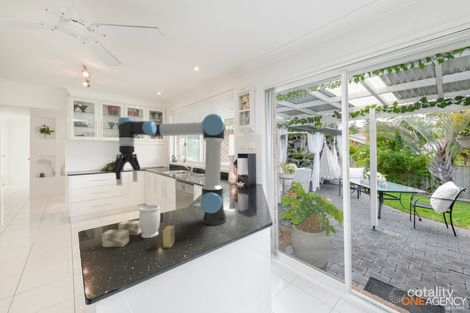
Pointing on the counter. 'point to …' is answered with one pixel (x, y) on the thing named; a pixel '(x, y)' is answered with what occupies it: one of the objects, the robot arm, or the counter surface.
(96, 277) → the counter surface
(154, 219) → the jar
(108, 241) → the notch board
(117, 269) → the counter surface
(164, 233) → the yellowish stone chunk
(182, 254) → the counter surface
